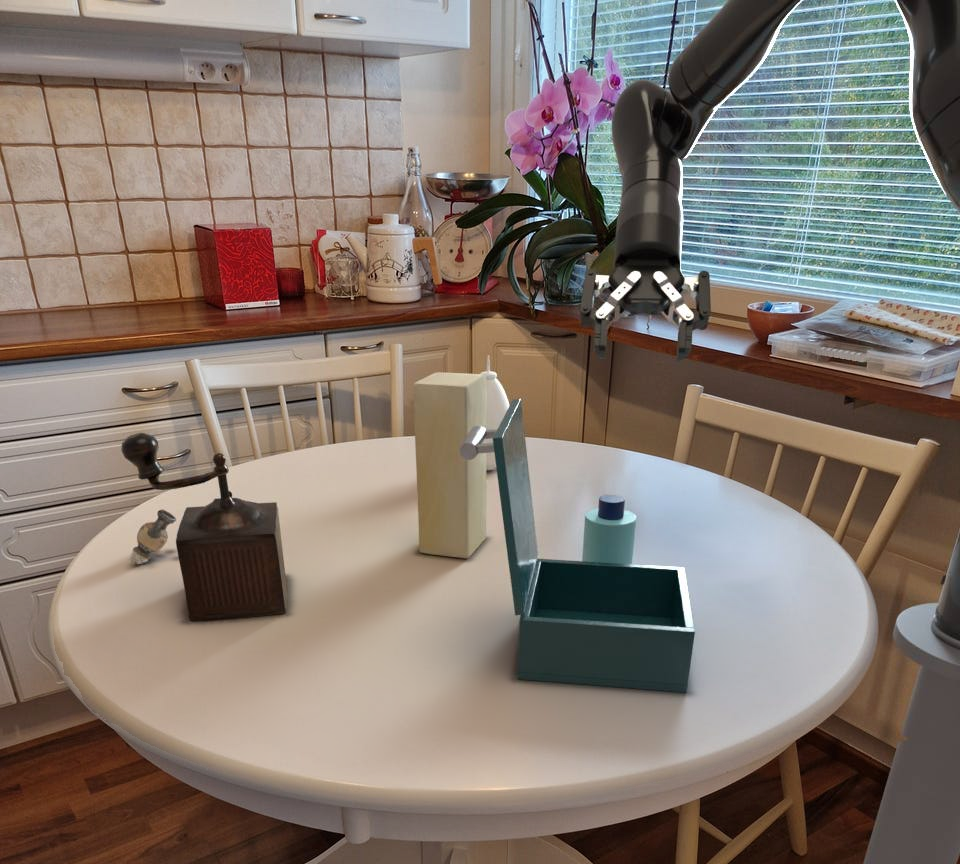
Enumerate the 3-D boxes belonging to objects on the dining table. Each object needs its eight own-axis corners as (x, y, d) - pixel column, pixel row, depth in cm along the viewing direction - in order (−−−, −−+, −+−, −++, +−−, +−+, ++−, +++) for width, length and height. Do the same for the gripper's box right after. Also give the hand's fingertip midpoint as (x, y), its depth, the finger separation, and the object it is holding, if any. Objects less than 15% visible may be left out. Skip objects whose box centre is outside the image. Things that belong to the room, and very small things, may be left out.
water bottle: (629, 582, 99) (637, 491, 94) (629, 602, 95) (638, 508, 89) (581, 578, 100) (587, 489, 95) (579, 598, 95) (585, 505, 90)
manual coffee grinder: (288, 574, 101) (270, 422, 92) (287, 614, 91) (268, 450, 83) (151, 584, 98) (121, 429, 90) (136, 627, 89) (101, 458, 80)
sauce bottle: (490, 459, 144) (491, 348, 135) (521, 470, 138) (524, 355, 130) (454, 467, 140) (452, 354, 131) (483, 478, 134) (484, 361, 126)
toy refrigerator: (434, 531, 114) (431, 370, 104) (487, 537, 112) (488, 374, 102) (412, 552, 107) (406, 382, 97) (468, 560, 105) (467, 387, 95)
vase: (185, 548, 108) (177, 503, 105) (178, 565, 103) (170, 518, 100) (140, 551, 107) (131, 505, 104) (132, 568, 102) (122, 521, 100)
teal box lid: (520, 398, 82) (474, 403, 83) (502, 437, 69) (447, 442, 70) (537, 553, 89) (495, 556, 90) (523, 614, 76) (474, 617, 77)
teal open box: (677, 621, 90) (684, 567, 87) (686, 692, 78) (695, 632, 75) (532, 611, 92) (534, 558, 89) (517, 679, 80) (519, 619, 77)
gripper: (587, 209, 95) (576, 332, 90) (717, 210, 93) (713, 336, 88) (586, 257, 102) (576, 374, 97) (707, 259, 100) (702, 378, 96)
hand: (641, 355), depth 93 cm, fingers open, 8 cm apart
